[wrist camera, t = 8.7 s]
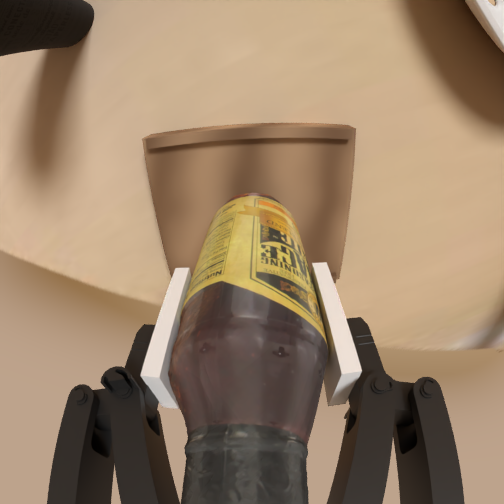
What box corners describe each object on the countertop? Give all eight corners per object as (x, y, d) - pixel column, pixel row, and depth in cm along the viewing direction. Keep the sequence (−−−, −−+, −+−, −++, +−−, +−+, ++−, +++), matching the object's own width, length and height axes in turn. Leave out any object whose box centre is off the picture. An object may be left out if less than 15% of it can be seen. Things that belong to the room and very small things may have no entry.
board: (347, 125, 19) (358, 129, 17) (334, 266, 27) (340, 282, 25) (151, 134, 20) (139, 140, 18) (177, 272, 28) (172, 288, 25)
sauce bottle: (306, 243, 21) (371, 536, 4) (235, 271, 23) (220, 545, 6) (272, 168, 18) (342, 584, 1) (192, 205, 19) (92, 537, 3)
